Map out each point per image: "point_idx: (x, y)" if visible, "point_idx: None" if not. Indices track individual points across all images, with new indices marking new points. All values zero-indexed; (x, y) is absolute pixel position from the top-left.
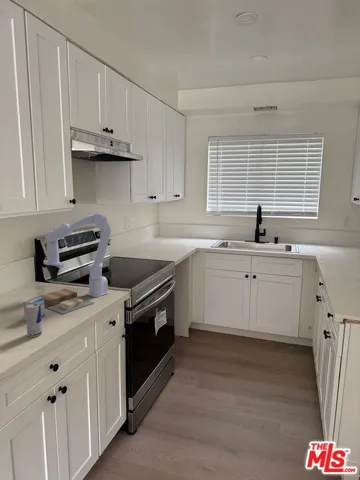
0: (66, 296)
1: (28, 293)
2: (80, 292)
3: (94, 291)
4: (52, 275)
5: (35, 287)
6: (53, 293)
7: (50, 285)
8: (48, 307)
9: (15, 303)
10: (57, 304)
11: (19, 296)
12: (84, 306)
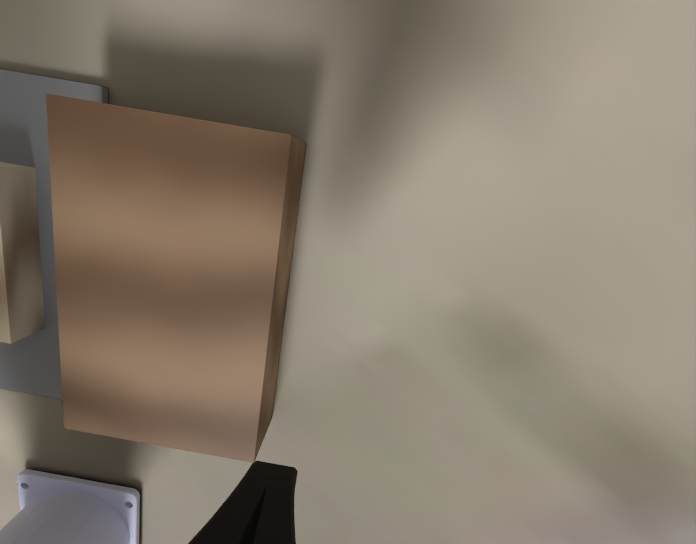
0: (66, 312)
1: (620, 304)
2: None
3: (14, 521)
4: (207, 526)
5: (686, 454)
6: (224, 302)
7: (589, 541)
8: (97, 93)
9: (509, 13)
10: None
11: (642, 196)
12: None
